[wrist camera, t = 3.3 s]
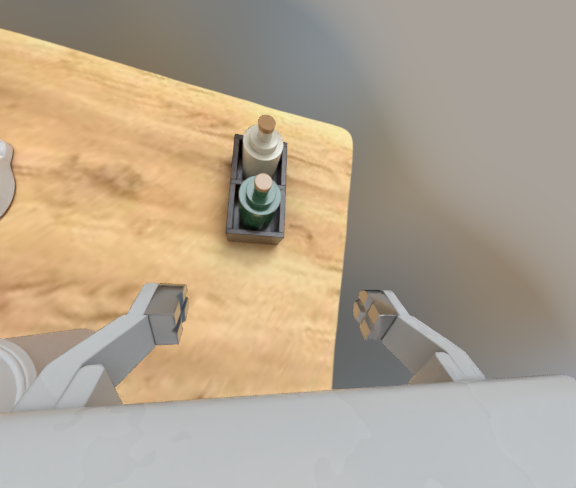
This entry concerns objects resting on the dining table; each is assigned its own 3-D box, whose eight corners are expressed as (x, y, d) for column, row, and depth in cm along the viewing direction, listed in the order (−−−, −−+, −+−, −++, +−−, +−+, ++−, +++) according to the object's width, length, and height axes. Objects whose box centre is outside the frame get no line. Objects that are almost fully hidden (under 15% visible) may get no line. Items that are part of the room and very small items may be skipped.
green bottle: (231, 221, 37) (228, 185, 24) (250, 196, 39) (256, 150, 26) (259, 239, 38) (270, 214, 25) (276, 214, 39) (296, 177, 26)
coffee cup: (130, 358, 31) (39, 418, 17) (57, 409, 29) (-126, 533, 14) (93, 303, 32) (-27, 315, 17) (18, 348, 29) (-201, 408, 14)
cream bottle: (235, 179, 39) (234, 123, 26) (253, 157, 41) (260, 93, 27) (262, 197, 39) (274, 151, 26) (278, 174, 41) (297, 120, 28)
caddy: (277, 244, 39) (284, 237, 34) (227, 241, 37) (225, 233, 32) (280, 161, 42) (287, 142, 37) (235, 154, 41) (234, 133, 35)
